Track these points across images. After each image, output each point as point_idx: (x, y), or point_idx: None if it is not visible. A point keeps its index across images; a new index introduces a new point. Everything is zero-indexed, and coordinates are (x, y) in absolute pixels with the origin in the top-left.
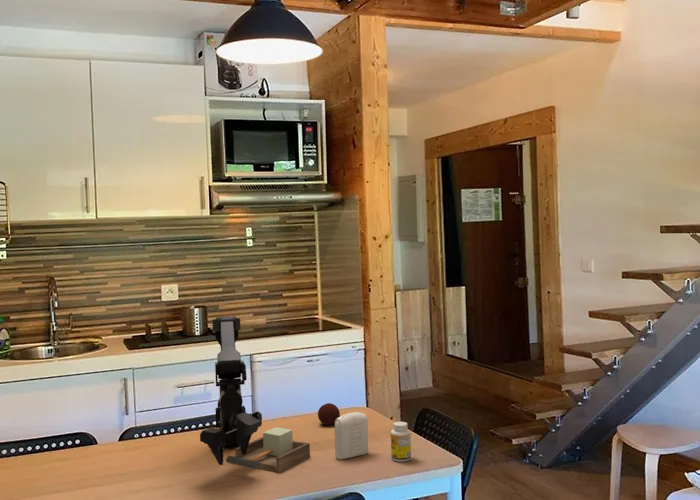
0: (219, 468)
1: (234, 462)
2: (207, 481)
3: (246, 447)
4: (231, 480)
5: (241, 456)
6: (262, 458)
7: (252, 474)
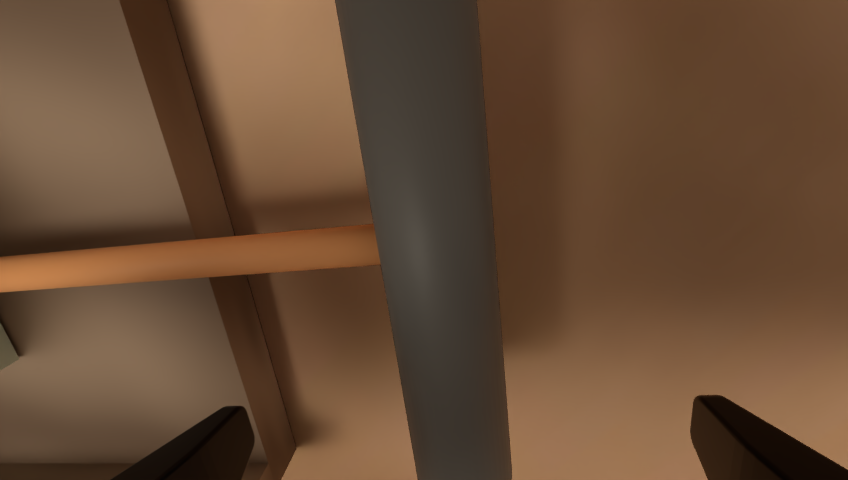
0: None
1: (500, 339)
2: (773, 360)
3: (153, 471)
4: (636, 181)
5: None
6: None
7: None
